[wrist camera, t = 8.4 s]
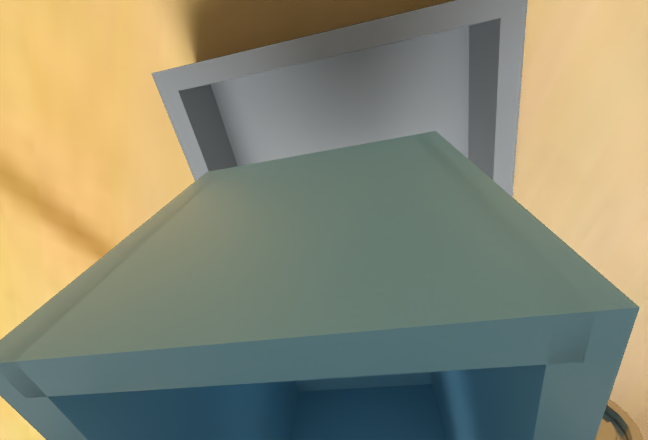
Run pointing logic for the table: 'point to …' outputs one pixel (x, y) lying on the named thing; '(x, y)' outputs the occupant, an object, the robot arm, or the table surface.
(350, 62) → the grey square tray
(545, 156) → the table surface
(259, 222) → the teal crate
